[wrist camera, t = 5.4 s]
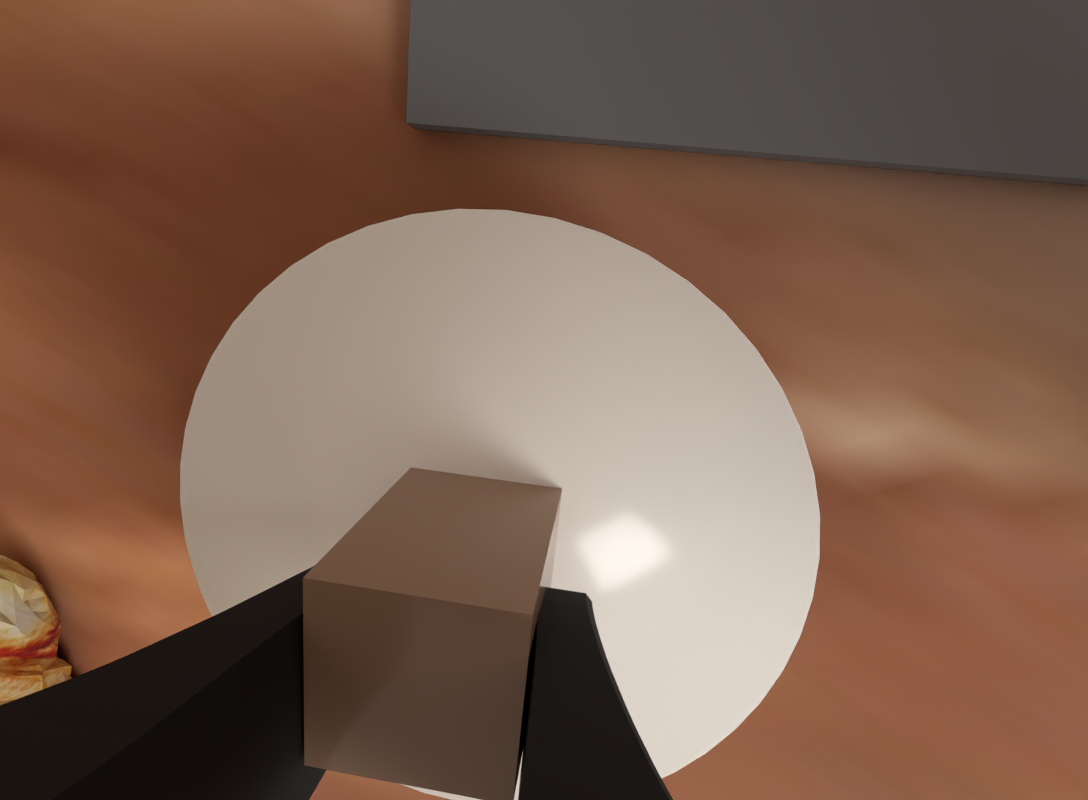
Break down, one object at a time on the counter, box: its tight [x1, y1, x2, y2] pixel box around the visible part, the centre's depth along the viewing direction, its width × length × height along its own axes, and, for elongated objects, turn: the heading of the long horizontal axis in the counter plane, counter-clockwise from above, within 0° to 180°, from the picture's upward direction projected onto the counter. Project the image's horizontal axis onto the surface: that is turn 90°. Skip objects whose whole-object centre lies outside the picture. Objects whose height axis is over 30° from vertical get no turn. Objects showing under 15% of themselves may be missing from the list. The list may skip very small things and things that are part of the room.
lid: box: [180, 209, 820, 800], centre depth 9 cm, size 11×11×4 cm
